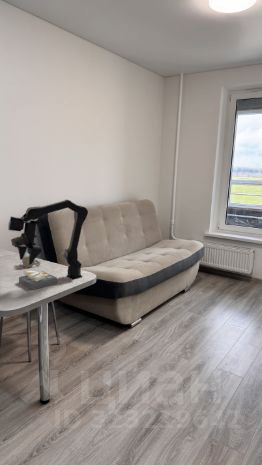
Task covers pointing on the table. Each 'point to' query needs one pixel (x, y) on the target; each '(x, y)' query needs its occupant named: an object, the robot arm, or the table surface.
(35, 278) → the rocker
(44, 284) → the switch unit
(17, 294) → the table surface
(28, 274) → the rocker
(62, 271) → the table surface
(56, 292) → the table surface
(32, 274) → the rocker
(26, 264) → the ceramic mug
